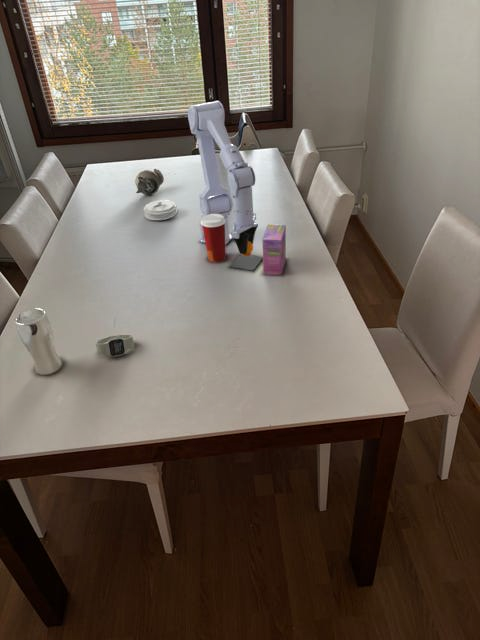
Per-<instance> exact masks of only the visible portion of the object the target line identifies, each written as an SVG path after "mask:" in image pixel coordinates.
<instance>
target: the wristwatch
mask: <svg viewBox="0 0 480 640" xmlns="http://www.w3.org/2000/svg"><path fill="white" fill-rule="evenodd" d="M133 347H135V344H134V338H133V334H131V333H121V334H111V335H108V336H106V337H103V338H100V339H99V340H97V341H95V348H96V352H97V354H99V355H106V356H111V357H113V358H116V357H119V356H124V354H125V353H126V352H127V351H129V350H130V349H132V348H133Z"/></svg>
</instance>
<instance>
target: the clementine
mask: <svg viewBox="0 0 480 640" xmlns="http://www.w3.org/2000/svg"><path fill="white" fill-rule="evenodd" d="M253 250H254V245H252V243H251V242H250V241H248V244H247V253H246V254H242V255H243V256H249V255H252V252H253Z"/></svg>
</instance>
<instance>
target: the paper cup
mask: <svg viewBox="0 0 480 640" xmlns="http://www.w3.org/2000/svg"><path fill="white" fill-rule="evenodd" d="M225 222H226V220H225V219H224V217H223V216H222V215H220V214H209V215H206V216H204V217H203V218H202V221H201V222H200V221H199V224H200V223H201V225H202V227H203V232H204V238H205V249H206V253H207V258H208V261H209V262H211V263H222V262H223V261H225V260H226V245H225Z"/></svg>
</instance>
